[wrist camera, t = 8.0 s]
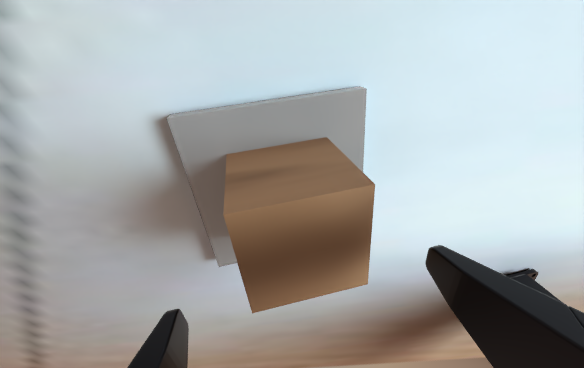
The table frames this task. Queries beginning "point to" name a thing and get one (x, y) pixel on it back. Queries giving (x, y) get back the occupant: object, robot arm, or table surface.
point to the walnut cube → (298, 221)
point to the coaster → (260, 143)
